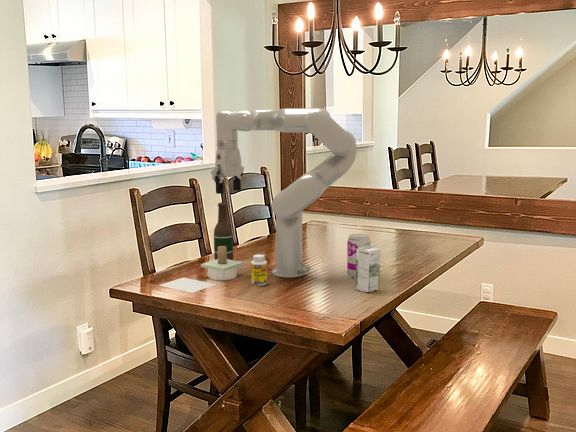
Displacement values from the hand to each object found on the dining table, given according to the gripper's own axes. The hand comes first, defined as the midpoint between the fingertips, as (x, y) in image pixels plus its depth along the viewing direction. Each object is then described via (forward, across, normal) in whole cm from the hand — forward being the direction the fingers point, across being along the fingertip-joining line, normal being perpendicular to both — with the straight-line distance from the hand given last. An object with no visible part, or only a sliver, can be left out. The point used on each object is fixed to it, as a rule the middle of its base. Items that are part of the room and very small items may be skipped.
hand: (228, 192), depth 226 cm
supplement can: (+31, +21, -43) cm, 57 cm away
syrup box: (+31, +7, -54) cm, 62 cm away
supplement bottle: (+31, -7, -19) cm, 37 cm away
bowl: (+30, -8, -3) cm, 31 cm away
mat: (+30, -23, 0) cm, 38 cm away
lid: (+26, -8, -3) cm, 27 cm away
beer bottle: (+31, +10, +12) cm, 34 cm away
